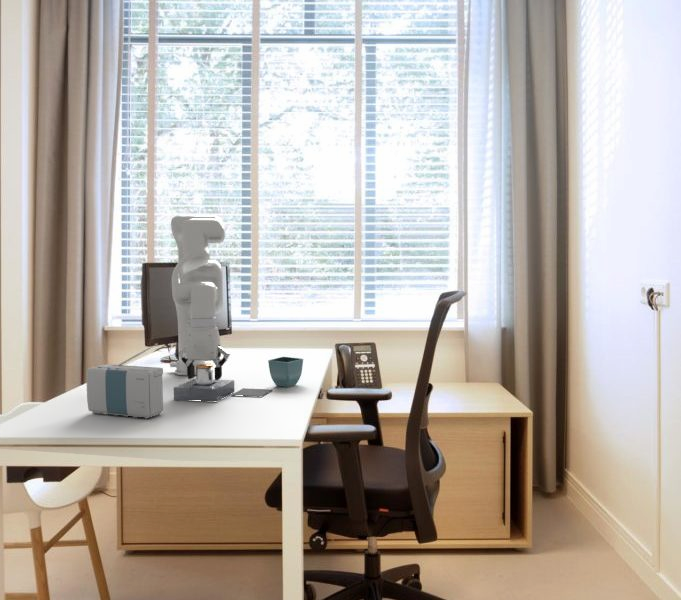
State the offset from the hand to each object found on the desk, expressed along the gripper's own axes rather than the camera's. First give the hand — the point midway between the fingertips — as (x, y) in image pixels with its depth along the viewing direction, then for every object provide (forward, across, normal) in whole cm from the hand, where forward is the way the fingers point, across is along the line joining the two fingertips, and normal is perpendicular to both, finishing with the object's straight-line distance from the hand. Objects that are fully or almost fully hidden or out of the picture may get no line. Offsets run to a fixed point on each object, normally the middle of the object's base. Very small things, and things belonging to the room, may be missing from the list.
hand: (204, 378), depth 195 cm
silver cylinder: (+6, 0, 0) cm, 6 cm away
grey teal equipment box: (+6, -12, -25) cm, 28 cm away
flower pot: (+6, +20, +21) cm, 30 cm away
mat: (+6, +13, +7) cm, 16 cm away
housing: (+6, 0, 0) cm, 6 cm away
